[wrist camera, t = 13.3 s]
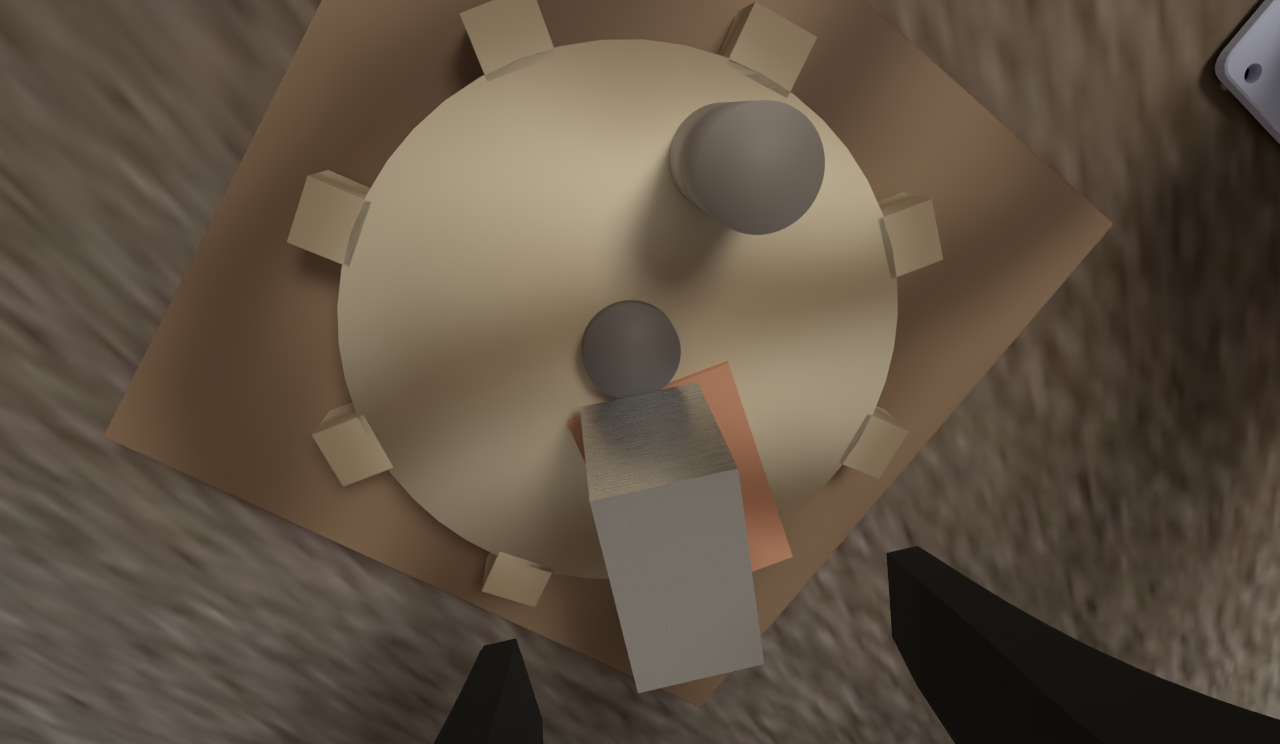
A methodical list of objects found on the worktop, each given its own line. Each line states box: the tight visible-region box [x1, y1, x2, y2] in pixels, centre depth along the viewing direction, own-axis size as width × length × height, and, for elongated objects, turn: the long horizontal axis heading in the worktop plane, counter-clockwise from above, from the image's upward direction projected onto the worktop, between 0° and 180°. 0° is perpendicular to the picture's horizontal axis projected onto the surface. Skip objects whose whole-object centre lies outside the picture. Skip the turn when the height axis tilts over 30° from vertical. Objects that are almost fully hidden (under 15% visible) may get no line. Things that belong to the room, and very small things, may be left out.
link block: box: [580, 382, 764, 693], centre depth 17 cm, size 6×3×4 cm, turn 11°
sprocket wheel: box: [287, 0, 943, 607], centre depth 17 cm, size 16×16×5 cm
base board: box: [104, 0, 1113, 707], centre depth 19 cm, size 20×20×2 cm
